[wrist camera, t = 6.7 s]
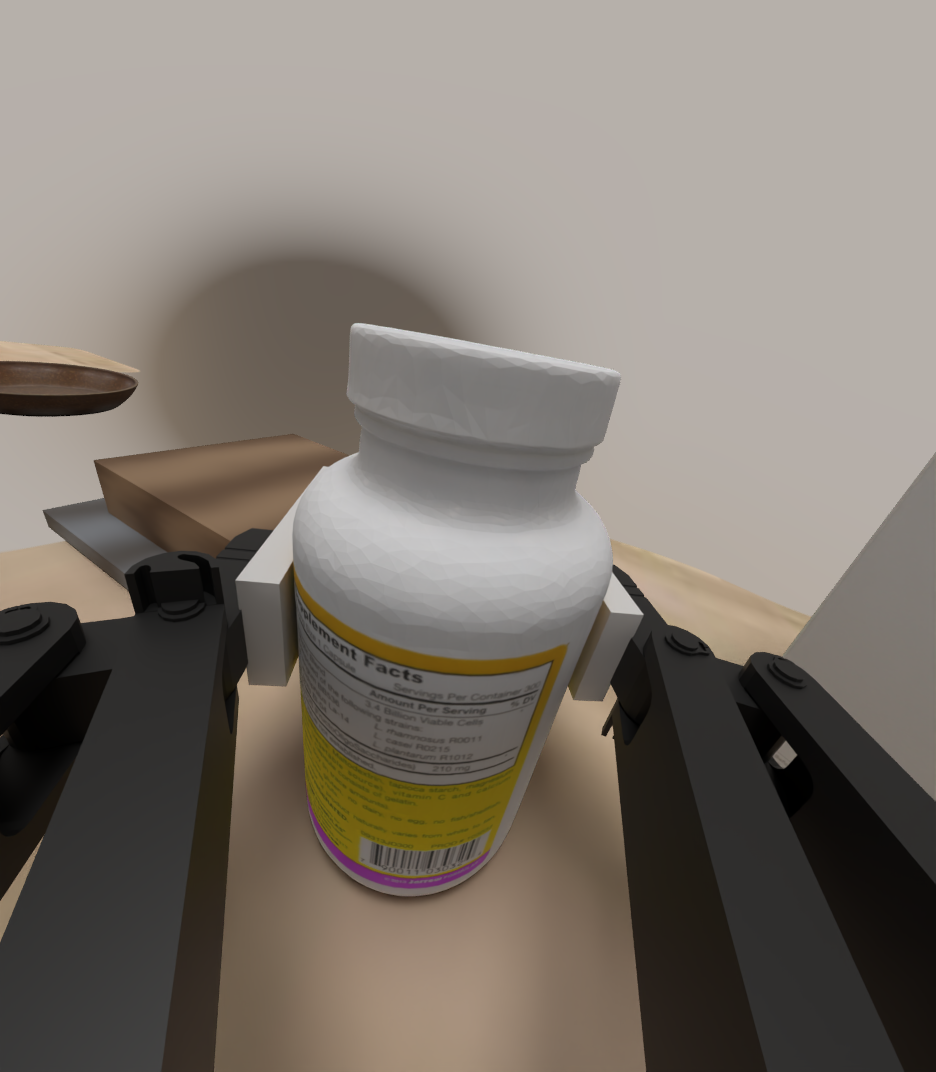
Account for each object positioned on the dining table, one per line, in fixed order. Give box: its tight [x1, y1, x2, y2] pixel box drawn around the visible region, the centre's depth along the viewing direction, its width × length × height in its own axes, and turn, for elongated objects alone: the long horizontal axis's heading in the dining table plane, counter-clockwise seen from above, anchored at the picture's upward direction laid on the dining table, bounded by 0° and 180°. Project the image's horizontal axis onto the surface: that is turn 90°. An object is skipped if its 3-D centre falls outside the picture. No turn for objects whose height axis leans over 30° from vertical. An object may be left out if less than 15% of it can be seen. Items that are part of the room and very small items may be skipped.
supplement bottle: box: [292, 323, 621, 896], centre depth 10 cm, size 7×7×13 cm
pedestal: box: [43, 434, 349, 590], centre depth 23 cm, size 16×16×4 cm
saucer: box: [0, 361, 138, 417], centre depth 38 cm, size 15×15×3 cm
